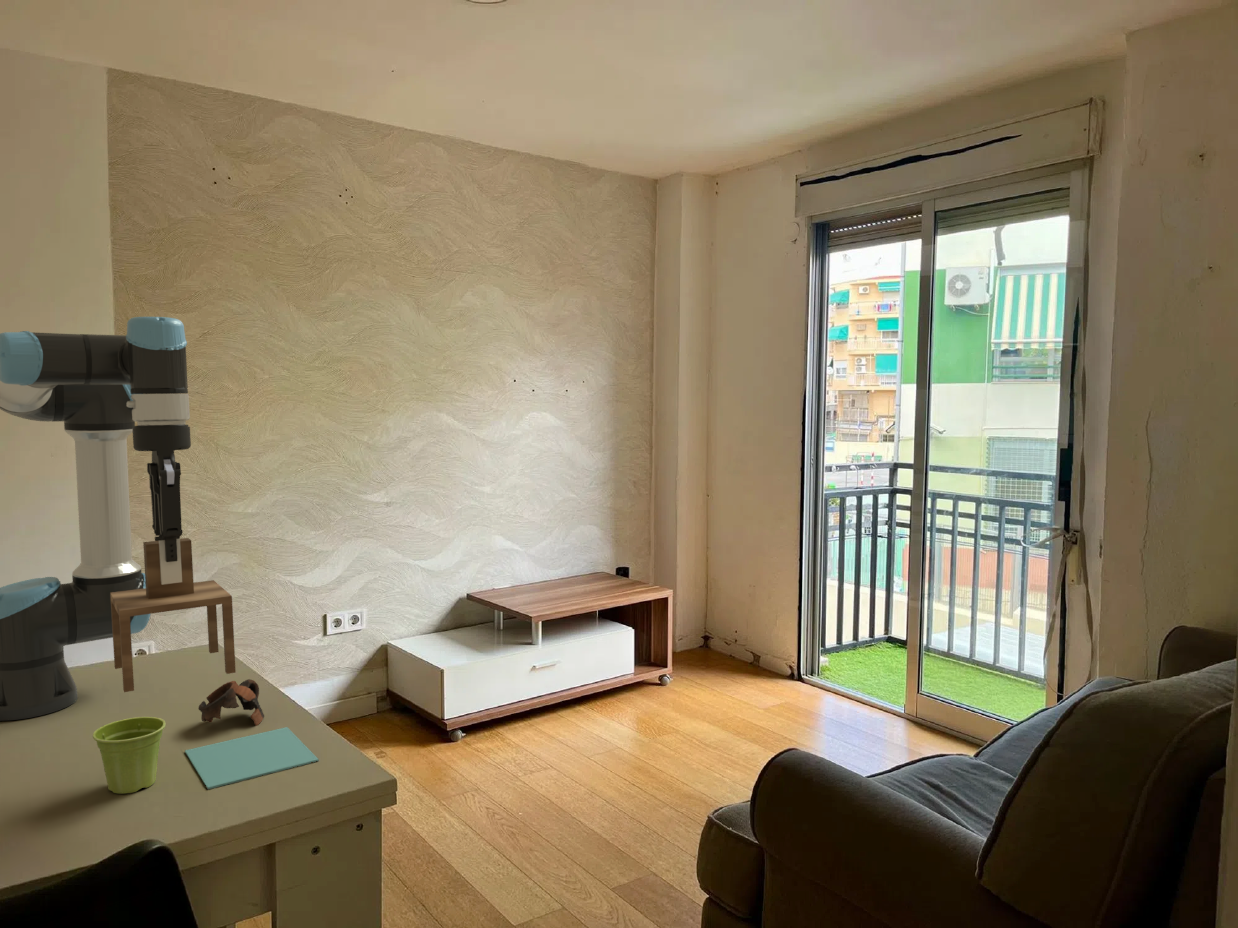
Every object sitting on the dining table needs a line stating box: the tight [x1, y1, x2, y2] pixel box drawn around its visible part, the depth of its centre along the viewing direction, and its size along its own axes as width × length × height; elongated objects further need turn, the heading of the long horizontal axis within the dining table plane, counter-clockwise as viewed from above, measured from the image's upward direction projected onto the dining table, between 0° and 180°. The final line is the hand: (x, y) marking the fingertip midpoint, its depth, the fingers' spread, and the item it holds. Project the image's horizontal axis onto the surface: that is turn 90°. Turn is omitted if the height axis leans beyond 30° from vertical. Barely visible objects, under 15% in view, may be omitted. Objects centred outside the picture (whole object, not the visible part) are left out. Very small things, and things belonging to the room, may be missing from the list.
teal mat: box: [185, 726, 319, 790], centre depth 138 cm, size 17×16×1 cm
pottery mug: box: [198, 678, 265, 726], centre depth 154 cm, size 12×10×8 cm
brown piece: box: [110, 537, 237, 693], centre depth 129 cm, size 14×14×20 cm
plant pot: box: [92, 716, 167, 795], centre depth 128 cm, size 9×9×9 cm
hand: (169, 580), depth 129 cm, fingers closed on brown piece, 3 cm apart
